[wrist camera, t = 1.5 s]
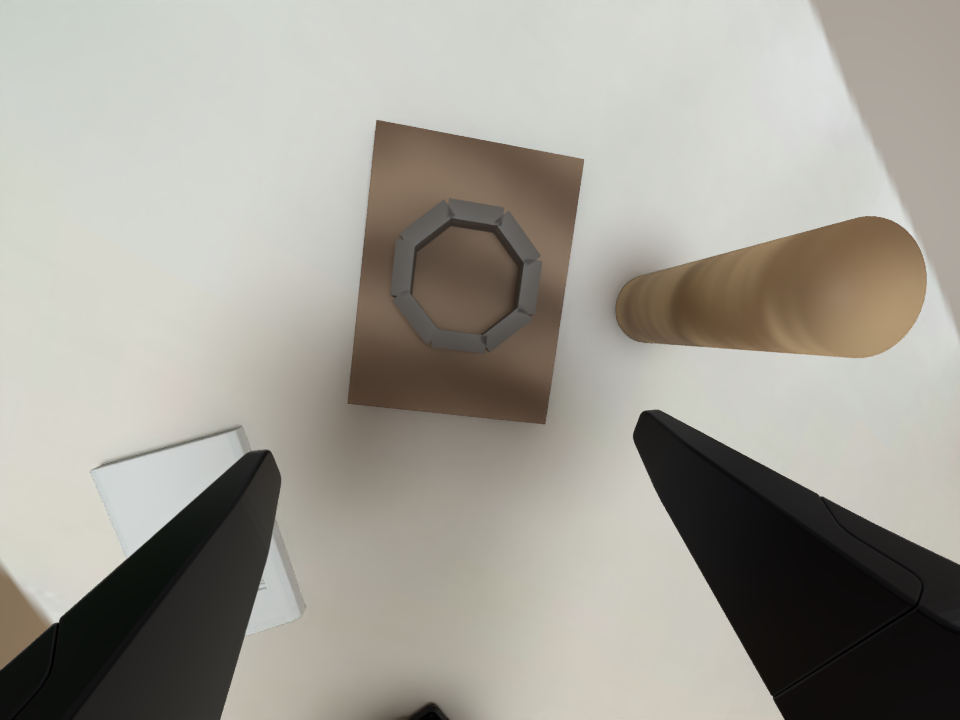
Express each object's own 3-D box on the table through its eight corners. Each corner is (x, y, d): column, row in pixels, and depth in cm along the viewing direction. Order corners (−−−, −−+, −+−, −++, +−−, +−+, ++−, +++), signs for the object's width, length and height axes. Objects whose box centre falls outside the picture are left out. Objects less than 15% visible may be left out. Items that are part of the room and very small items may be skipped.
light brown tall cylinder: (691, 317, 23) (947, 306, 11) (637, 355, 23) (840, 384, 11) (658, 261, 23) (891, 188, 11) (603, 299, 23) (777, 268, 11)
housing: (540, 420, 23) (552, 431, 20) (352, 400, 22) (339, 409, 19) (577, 167, 22) (594, 146, 19) (380, 130, 20) (370, 102, 18)
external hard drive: (248, 423, 22) (310, 600, 23) (111, 461, 21) (183, 640, 23) (233, 430, 20) (300, 621, 22) (84, 471, 20) (162, 664, 21)
